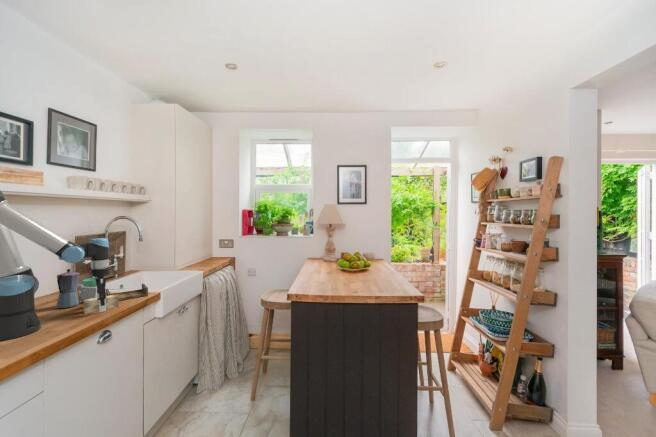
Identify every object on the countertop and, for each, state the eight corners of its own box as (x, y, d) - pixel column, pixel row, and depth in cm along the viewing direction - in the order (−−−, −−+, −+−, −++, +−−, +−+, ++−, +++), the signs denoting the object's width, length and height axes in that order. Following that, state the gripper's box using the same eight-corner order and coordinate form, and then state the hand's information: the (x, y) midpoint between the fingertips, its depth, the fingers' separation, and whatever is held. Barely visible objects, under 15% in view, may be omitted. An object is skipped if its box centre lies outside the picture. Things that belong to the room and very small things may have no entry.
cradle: (108, 302, 157) (107, 294, 157) (106, 297, 167) (105, 289, 167) (148, 295, 170) (147, 287, 170) (143, 291, 180) (143, 283, 180)
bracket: (99, 301, 164) (101, 284, 164) (94, 303, 160) (96, 286, 160) (77, 299, 162) (80, 282, 162) (72, 302, 158) (74, 284, 158)
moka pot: (85, 301, 161) (84, 266, 160) (71, 309, 146) (70, 271, 146) (64, 303, 157) (63, 267, 157) (48, 312, 143) (47, 273, 142)
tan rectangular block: (84, 313, 141) (83, 302, 141) (83, 311, 144) (83, 299, 144) (118, 307, 150) (118, 296, 150) (117, 305, 154) (117, 294, 154)
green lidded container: (100, 296, 169) (99, 280, 169) (79, 298, 165) (79, 281, 165) (108, 290, 183) (108, 275, 182) (89, 292, 179) (89, 276, 179)
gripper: (111, 270, 140) (113, 312, 141) (107, 263, 158) (108, 301, 159) (92, 272, 135) (93, 316, 136) (89, 265, 153) (91, 304, 154)
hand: (101, 308), depth 147 cm, fingers open, 12 cm apart
